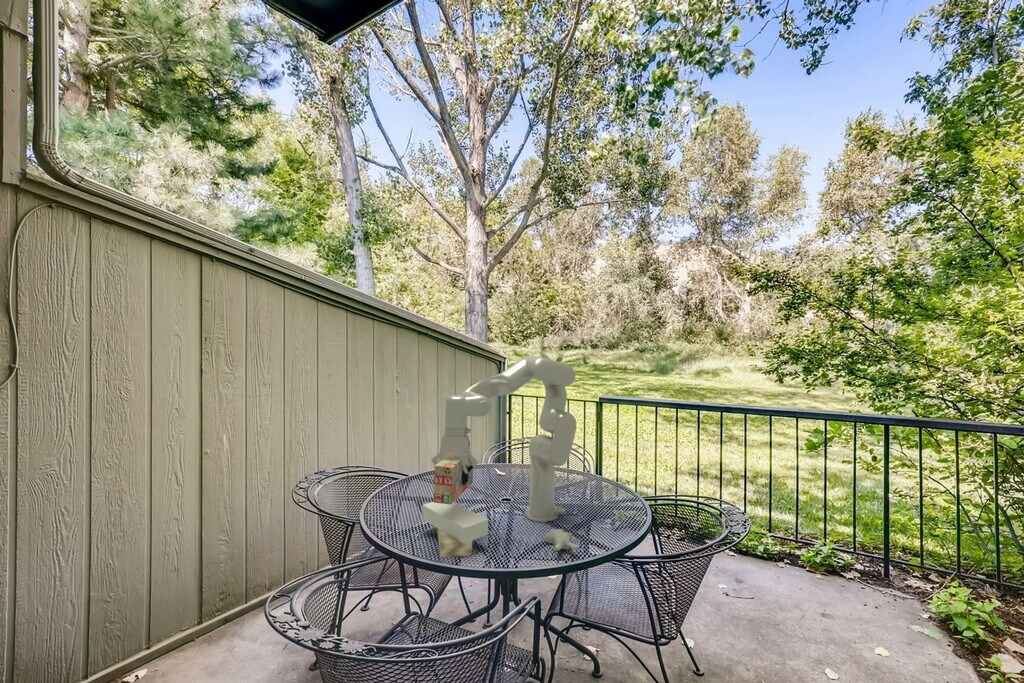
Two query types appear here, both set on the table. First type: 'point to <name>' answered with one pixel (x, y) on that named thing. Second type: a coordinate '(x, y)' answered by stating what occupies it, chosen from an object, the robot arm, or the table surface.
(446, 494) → the stack of blocks
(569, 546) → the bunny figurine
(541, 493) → the robot arm
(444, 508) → the upper slab
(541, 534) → the table surface
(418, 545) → the table surface
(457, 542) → the lower slab
